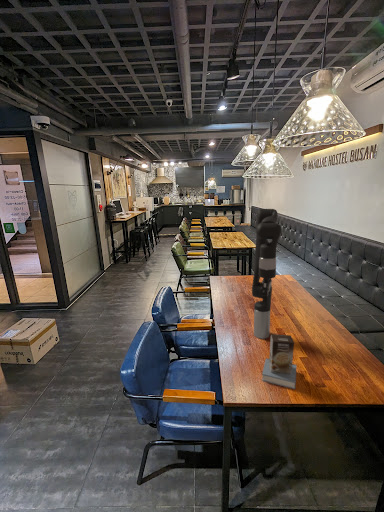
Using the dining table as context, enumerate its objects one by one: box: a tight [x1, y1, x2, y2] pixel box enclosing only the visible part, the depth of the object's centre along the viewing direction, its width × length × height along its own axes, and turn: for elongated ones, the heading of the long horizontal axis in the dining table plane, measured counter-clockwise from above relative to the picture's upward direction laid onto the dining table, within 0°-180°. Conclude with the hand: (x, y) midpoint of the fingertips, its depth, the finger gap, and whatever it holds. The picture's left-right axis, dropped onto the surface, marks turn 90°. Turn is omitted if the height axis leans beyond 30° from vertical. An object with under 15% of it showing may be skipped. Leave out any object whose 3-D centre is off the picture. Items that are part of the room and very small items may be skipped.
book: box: [261, 357, 297, 390], centre depth 115 cm, size 12×14×4 cm
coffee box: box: [268, 333, 295, 374], centre depth 112 cm, size 9×6×16 cm
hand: (266, 299), depth 117 cm, fingers open, 8 cm apart
